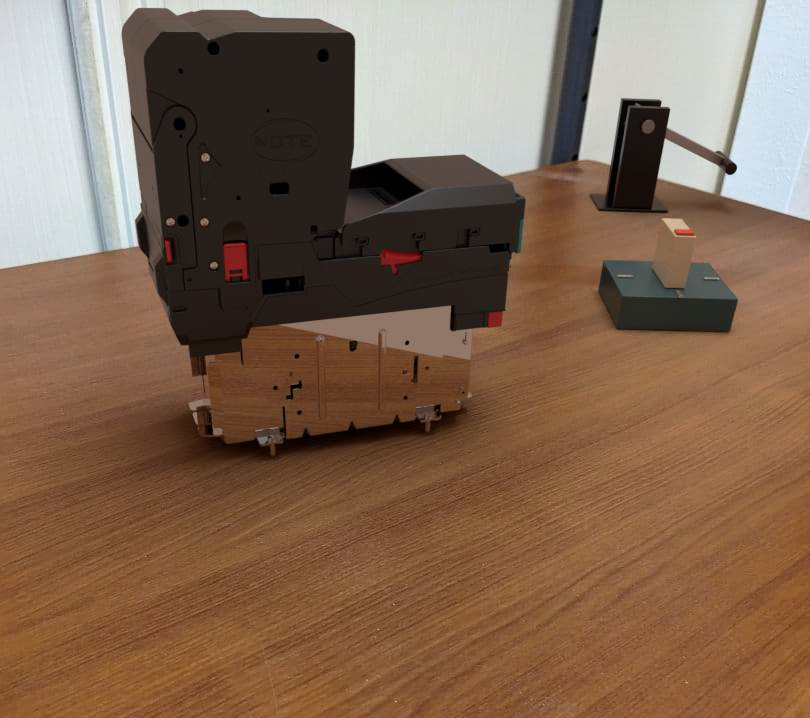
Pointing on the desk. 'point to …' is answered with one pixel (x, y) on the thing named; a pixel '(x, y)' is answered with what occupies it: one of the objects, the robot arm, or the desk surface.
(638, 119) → the lever bracket
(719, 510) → the desk surface
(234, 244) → the bill acceptor
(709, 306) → the dial panel
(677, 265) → the tan upright slab
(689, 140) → the lever handle
